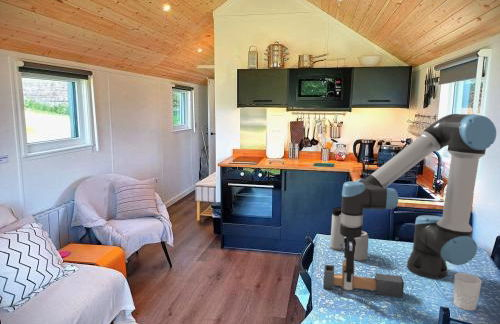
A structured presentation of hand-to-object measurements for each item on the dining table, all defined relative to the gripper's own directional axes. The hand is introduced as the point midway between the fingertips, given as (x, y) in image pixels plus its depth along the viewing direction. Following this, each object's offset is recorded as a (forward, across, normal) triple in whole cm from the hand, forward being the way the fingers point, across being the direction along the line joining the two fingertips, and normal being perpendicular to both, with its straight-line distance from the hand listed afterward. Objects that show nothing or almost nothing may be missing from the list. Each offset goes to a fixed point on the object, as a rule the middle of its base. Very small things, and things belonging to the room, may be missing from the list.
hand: (347, 281), depth 133 cm
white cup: (+2, +2, +39) cm, 39 cm away
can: (+2, -29, +6) cm, 30 cm away
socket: (+2, 0, -7) cm, 7 cm away
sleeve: (+2, 0, +14) cm, 15 cm away
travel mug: (+2, -38, -3) cm, 38 cm away
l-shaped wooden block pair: (+2, 0, +2) cm, 3 cm away
